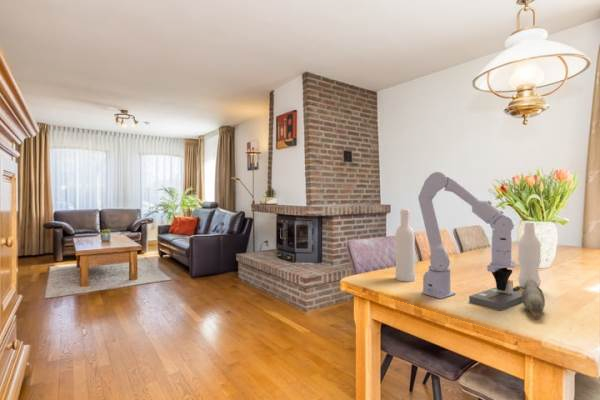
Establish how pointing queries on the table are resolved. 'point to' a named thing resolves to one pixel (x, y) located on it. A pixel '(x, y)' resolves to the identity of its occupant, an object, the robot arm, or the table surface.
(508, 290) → the handle
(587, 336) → the table surface
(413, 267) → the bottle
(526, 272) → the water bottle
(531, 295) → the decorative bird
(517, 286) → the twin grey rods
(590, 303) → the table surface
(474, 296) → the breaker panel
